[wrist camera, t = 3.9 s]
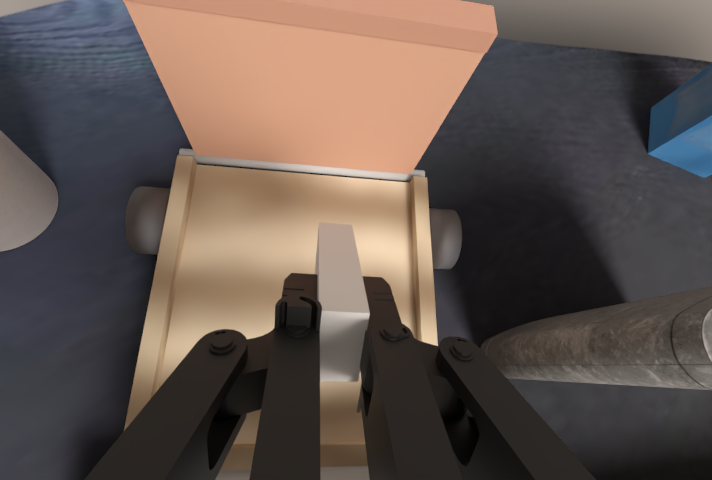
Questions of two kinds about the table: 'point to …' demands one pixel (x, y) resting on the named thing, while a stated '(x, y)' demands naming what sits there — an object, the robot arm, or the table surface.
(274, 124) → the tailgate
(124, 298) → the table surface
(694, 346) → the flask
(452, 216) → the truck bed
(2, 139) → the coffee cup
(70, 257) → the table surface
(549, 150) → the table surface
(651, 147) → the perfume bottle
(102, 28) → the table surface
